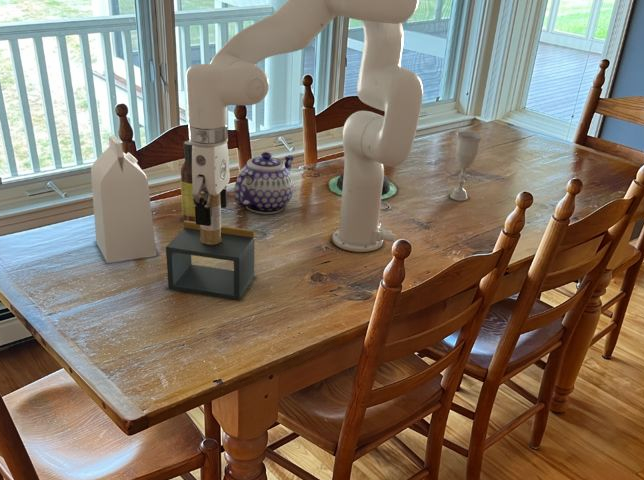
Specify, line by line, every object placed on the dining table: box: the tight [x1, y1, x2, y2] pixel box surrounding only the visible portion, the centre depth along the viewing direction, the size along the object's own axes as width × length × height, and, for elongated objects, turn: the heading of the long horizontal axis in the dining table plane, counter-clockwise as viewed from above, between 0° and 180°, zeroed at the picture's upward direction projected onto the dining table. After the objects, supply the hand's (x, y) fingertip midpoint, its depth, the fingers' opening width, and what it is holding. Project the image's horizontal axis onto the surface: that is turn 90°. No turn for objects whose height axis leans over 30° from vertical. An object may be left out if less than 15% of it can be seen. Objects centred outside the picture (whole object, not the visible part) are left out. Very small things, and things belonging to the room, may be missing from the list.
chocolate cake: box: [328, 172, 397, 200], centre depth 211 cm, size 15×19×20 cm
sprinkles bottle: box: [200, 190, 222, 245], centre depth 150 cm, size 5×5×14 cm
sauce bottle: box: [180, 140, 196, 222], centre depth 182 cm, size 7×6×20 cm
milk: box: [90, 134, 157, 264], centre depth 164 cm, size 12×12×26 cm
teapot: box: [233, 151, 295, 215], centre depth 192 cm, size 25×15×15 cm, turn 143°
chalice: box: [449, 130, 484, 202], centre depth 204 cm, size 7×7×18 cm
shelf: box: [165, 220, 255, 301], centre depth 156 cm, size 16×11×12 cm
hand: (211, 215), depth 150 cm, fingers open, 9 cm apart
